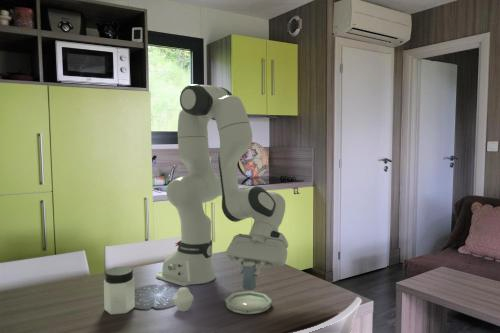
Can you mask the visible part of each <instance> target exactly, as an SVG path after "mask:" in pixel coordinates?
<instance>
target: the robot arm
mask: <svg viewBox="0 0 500 333" xmlns="http://www.w3.org/2000/svg"><path fill="white" fill-rule="evenodd" d="M179 103H180V104H179V105H180V108H181V110H180V112H179V114H178V120H177V145H178V146H177V148H178V159H179V160H180V162H182V163H183V164H184V165H185V167H186V169H187V172H188V175H182V176H179V177H177V178H175V179H173V180H171V181H170V182H169V183H168V184H167V187H166V197H167V199H168V201H169V203H170V204H171V205H172V206H174V208H175V209H176V211H177V213H178V215H179V221H180V236H181V237H180V238H181V239H180V240H179V241H178V242H176V243H174V244H175V245H174V247H177V249H176V251H173V253H172V254H170V255H169V256H168V257H166V258H165V259H164V260H163V263H162V269H161V270H159V271H158V272H157V273H156V275H155V278H156V279H158V280H159V279H160V280H161V281H166V282H169V283H172V284H175V285H179V286H182V287H188V286H190V285H200V284H206V283H209V282H212V281H213V280H215V279H216V277H217V276H216V274H215V270H214V264H213V263H214V262H213V256H212V255H213V240H212V220H211V218H210V217H209V216H208V215H206V213H205V210H204V206H203V203H208V202H212V201H214V200H215V199H217V198H218V197H220V196H221V211H222V212H223V214H224V216H225V218H227V219H228V220H229V221H231V222H235V223H237V222H241V221H243V220H246V219H250V218H252V219H253V223H252V226H251V228H250V231H249V233H248V234H243V233H238V234H236V235H234V236H233V237H232V240H231V242H230V243H229V245H228V247H227V248H226V253H225V254H226V256H227V258H228V259H229V260H231V261H238V265H239V268H238V271H237V272H238V273H239V274H240V275H243V262H244V261H254V262H255V265H256V264H257V265H260V266H259V267H258V268H256V269H255V270H254V273H253V275H254V276H256V278H259V277H260V276H261V273H262V272H263V271H265V270H266V269H267V266H269V267H274V268H279V269H282V268H283V267H284V266H285V264H286V261H287V257H288V250H287V249H288V247H289V242H288V239H287V238H286V236H285V235H284V233H282V232H280V231H279V227H280V226H281V224H282V222H283V219H284V216H285V212H286V200H285V198H284V197H283V196H282V195H281V194H280V193H277V192H275V191H274V192H273V191H271V192H269V191H267V190H266V189H264V188H263V187H262V186H258V185H256V186H252V187H249V188H244V189H242V190H240V188H239V182H238V172H237V168H238V163H239V161H240V159H241V158H242V156H243V155H245V153H246V152H247V151H248V150H249V149H250V147H251V144H253V132H252V130H253V129H252V127H251V123H250V120H249V116H248V113H247V110H246V109H245V106H244V104H243V101H242V99H240V97H238V96H236V95H233V93H232V92H231V91H229V90H228V89H226V88H224V87H219V86H216V85H212V84H211V85H210V84H207V85H206V84H198V83H197V84H196V83H195V84H194V83H193V84H189V85H187V86H185V87H184V88H183V89H182V91H181V92H180V95H179ZM210 120H213V121H215V123H216V127H217V131H218V136H219V151H218V158H217V160H218V169H219V170H218V171H219V175H217V173H216V172H215V170H214V169H215V168H214V167H213V164H212V161H211V157H210V146H209V132H208V125H209V122H210Z"/></svg>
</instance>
